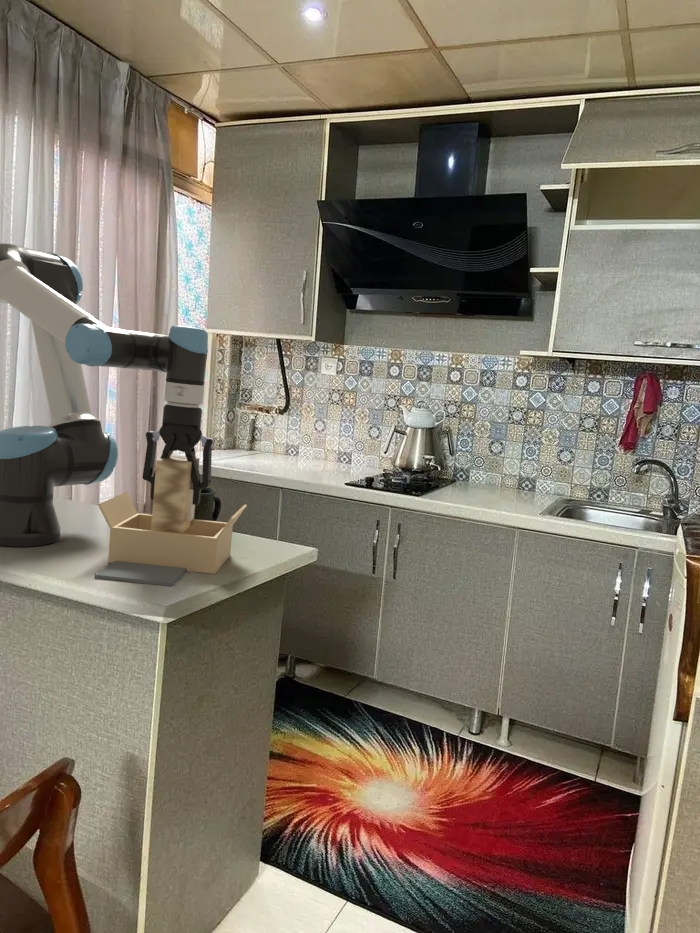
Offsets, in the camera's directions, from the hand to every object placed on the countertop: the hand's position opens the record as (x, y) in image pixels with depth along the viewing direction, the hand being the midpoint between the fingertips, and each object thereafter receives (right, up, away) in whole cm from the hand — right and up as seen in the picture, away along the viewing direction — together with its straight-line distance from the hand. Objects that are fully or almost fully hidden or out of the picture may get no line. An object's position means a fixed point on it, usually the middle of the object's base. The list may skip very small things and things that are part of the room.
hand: (173, 517), depth 145 cm
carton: (-1, -8, +1) cm, 9 cm away
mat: (-3, -10, -12) cm, 16 cm away
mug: (0, -7, +18) cm, 19 cm away
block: (0, -2, 0) cm, 2 cm away
